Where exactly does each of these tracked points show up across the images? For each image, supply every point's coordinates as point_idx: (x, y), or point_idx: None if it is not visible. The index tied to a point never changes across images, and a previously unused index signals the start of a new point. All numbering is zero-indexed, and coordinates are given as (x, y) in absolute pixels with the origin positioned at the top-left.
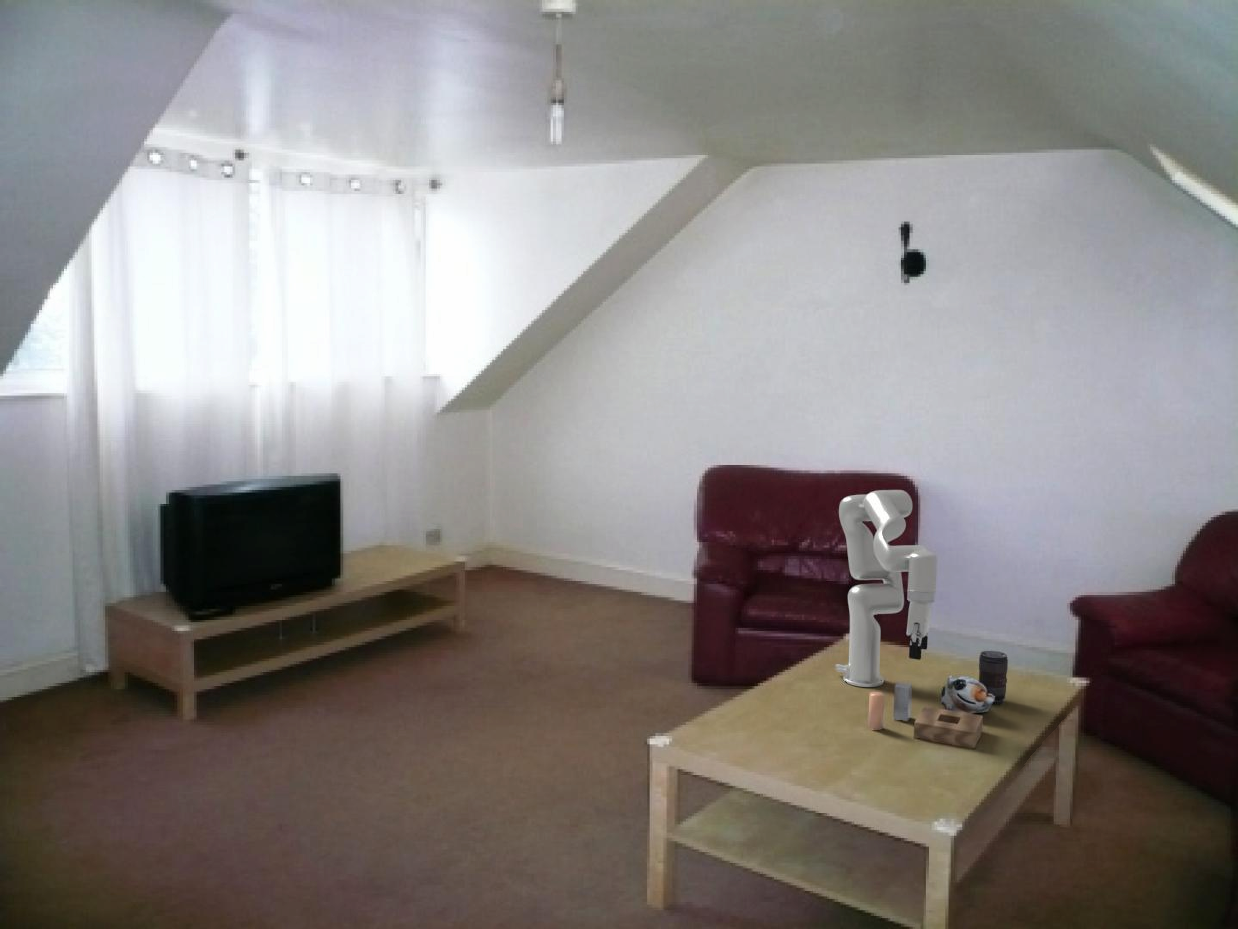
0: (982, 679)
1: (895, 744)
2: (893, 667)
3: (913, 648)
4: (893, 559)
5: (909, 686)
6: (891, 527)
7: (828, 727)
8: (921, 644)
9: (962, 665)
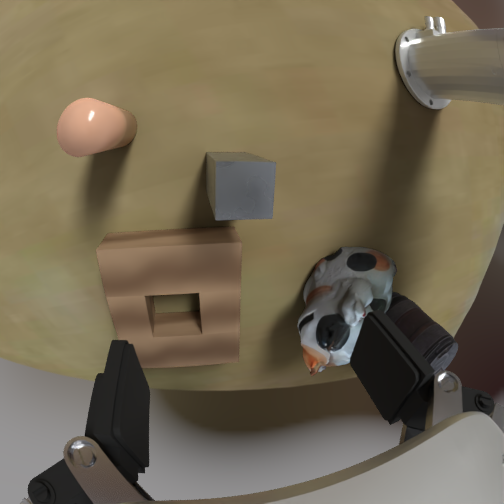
0: (404, 326)
1: (51, 208)
2: (482, 132)
3: (93, 429)
4: None
5: (244, 216)
6: None
7: (79, 34)
8: (371, 361)
9: (491, 232)
